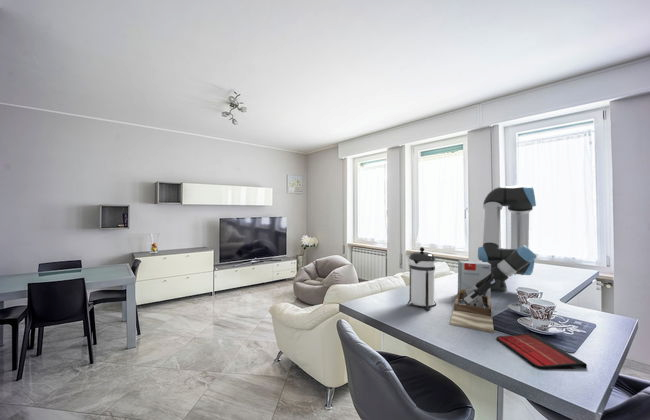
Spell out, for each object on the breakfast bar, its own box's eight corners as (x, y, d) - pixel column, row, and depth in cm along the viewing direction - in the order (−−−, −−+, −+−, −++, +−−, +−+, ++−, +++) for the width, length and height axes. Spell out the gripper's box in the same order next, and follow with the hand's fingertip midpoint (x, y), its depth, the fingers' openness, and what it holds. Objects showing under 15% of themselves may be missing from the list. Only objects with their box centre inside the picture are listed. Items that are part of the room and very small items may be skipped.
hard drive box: (459, 298, 153) (459, 262, 153) (457, 294, 160) (457, 260, 160) (491, 300, 148) (491, 264, 148) (487, 296, 156) (487, 261, 156)
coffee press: (444, 311, 133) (444, 249, 133) (411, 310, 133) (411, 249, 133) (431, 299, 150) (431, 245, 150) (402, 299, 150) (402, 244, 150)
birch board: (453, 312, 131) (453, 310, 131) (492, 318, 123) (492, 316, 123) (450, 324, 118) (450, 321, 118) (493, 332, 110) (493, 330, 110)
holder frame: (457, 298, 152) (457, 292, 152) (489, 303, 144) (489, 296, 144) (454, 310, 133) (454, 303, 133) (491, 317, 126) (491, 309, 126)
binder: (533, 332, 106) (587, 363, 85) (533, 338, 106) (587, 370, 85) (493, 334, 105) (537, 366, 84) (493, 340, 105) (538, 373, 84)
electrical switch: (471, 310, 134) (470, 291, 135) (462, 307, 139) (461, 289, 140) (484, 307, 138) (482, 288, 139) (474, 305, 143) (473, 287, 144)
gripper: (511, 282, 121) (471, 311, 129) (507, 272, 141) (472, 297, 149) (497, 269, 124) (459, 298, 132) (495, 261, 144) (462, 286, 151)
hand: (466, 298), depth 140 cm, fingers open, 10 cm apart
